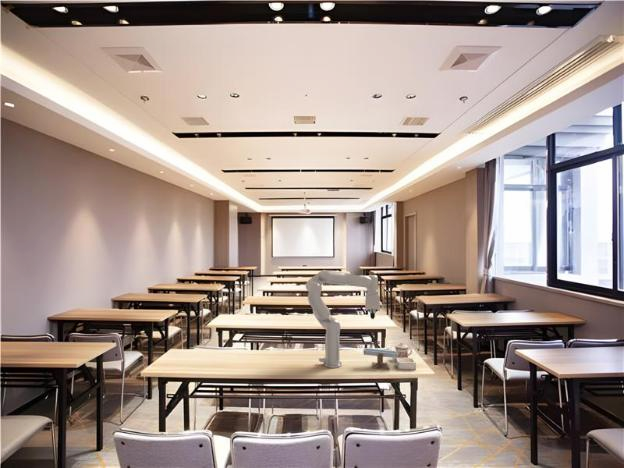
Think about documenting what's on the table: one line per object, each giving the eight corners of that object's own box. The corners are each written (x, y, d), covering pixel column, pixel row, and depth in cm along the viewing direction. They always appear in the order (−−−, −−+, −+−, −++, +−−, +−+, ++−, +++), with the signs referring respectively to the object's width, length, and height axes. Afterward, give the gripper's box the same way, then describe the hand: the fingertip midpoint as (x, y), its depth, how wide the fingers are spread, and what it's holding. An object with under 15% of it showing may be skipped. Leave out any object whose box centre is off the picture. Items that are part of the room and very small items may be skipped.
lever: (363, 354, 242) (364, 350, 242) (362, 348, 255) (363, 344, 255) (397, 358, 240) (397, 353, 240) (394, 352, 253) (395, 348, 253)
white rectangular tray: (398, 369, 238) (398, 362, 238) (396, 364, 247) (396, 357, 247) (415, 369, 237) (415, 362, 237) (413, 364, 246) (413, 358, 246)
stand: (373, 369, 239) (373, 354, 239) (372, 363, 250) (371, 349, 250) (388, 369, 238) (388, 354, 238) (386, 363, 249) (386, 349, 249)
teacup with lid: (397, 361, 253) (397, 344, 253) (393, 357, 262) (393, 341, 262) (414, 360, 254) (414, 344, 254) (409, 356, 263) (409, 340, 263)
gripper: (361, 293, 254) (362, 319, 253) (383, 293, 252) (383, 320, 252) (361, 291, 261) (361, 317, 261) (382, 292, 260) (382, 317, 259)
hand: (372, 318), depth 256 cm, fingers closed
